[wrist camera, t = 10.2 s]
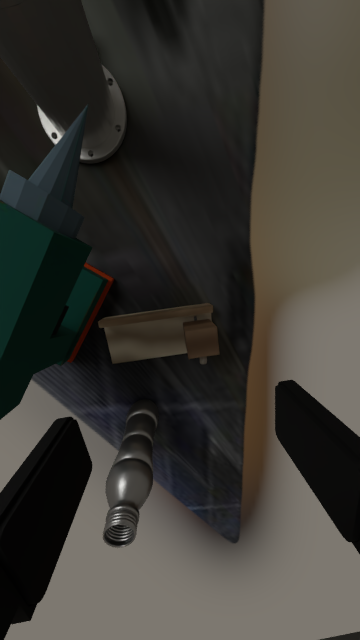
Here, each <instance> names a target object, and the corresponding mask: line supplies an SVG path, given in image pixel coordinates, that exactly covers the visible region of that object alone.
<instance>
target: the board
mask: <svg viewBox="0 0 360 640" xmlns="http://www.w3.org/2000/svg"><path fill="white" fill-rule="evenodd" d="M212 312H213V306H212V305H211V304H209V303H204V304H197V305H190V306H183V307H176V308H168V309H161V310H154V311H147V312H140V313H132V314H125V315H118V316H111V317H105V318H103V319H101V320H99V321H98V325H99V328H104V329H105V334H106V338H107V342H108V346H109V351H110V355H111V359H112V363H113V364H115V363H122V362H129V361H136V360H143V359H150V358H157V357H164V356H171V355H177V354H184V353H187V349H186V345H185V337H184V330H183V322H189V321H196V320H203V319H210V320H211V321H212V319H211V313H212Z"/></svg>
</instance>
